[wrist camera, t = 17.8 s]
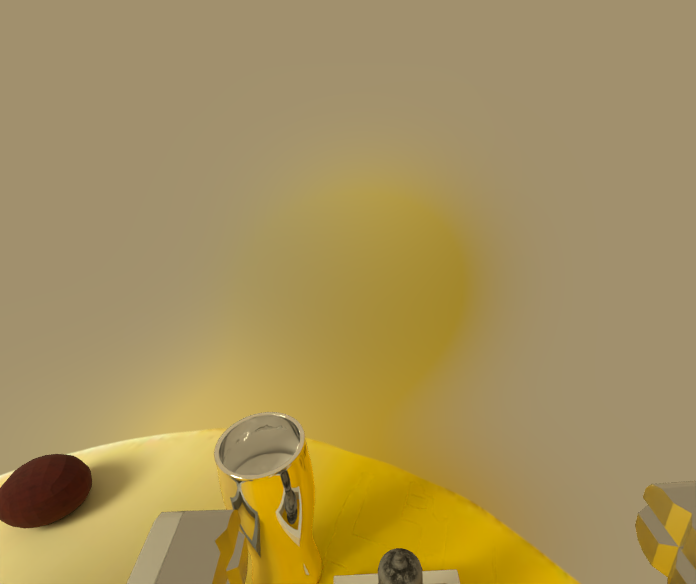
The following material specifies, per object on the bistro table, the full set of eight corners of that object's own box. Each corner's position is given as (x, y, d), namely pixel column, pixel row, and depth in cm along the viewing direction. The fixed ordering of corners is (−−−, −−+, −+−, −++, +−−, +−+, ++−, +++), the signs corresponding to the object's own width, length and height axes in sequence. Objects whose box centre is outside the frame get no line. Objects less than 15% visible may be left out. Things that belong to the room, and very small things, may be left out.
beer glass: (310, 624, 34) (283, 490, 28) (232, 601, 36) (191, 471, 30) (337, 542, 40) (320, 416, 34) (269, 526, 42) (241, 404, 36)
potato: (31, 487, 49) (9, 447, 46) (108, 472, 50) (91, 432, 47) (-5, 548, 42) (-32, 506, 40) (86, 529, 43) (64, 487, 41)
